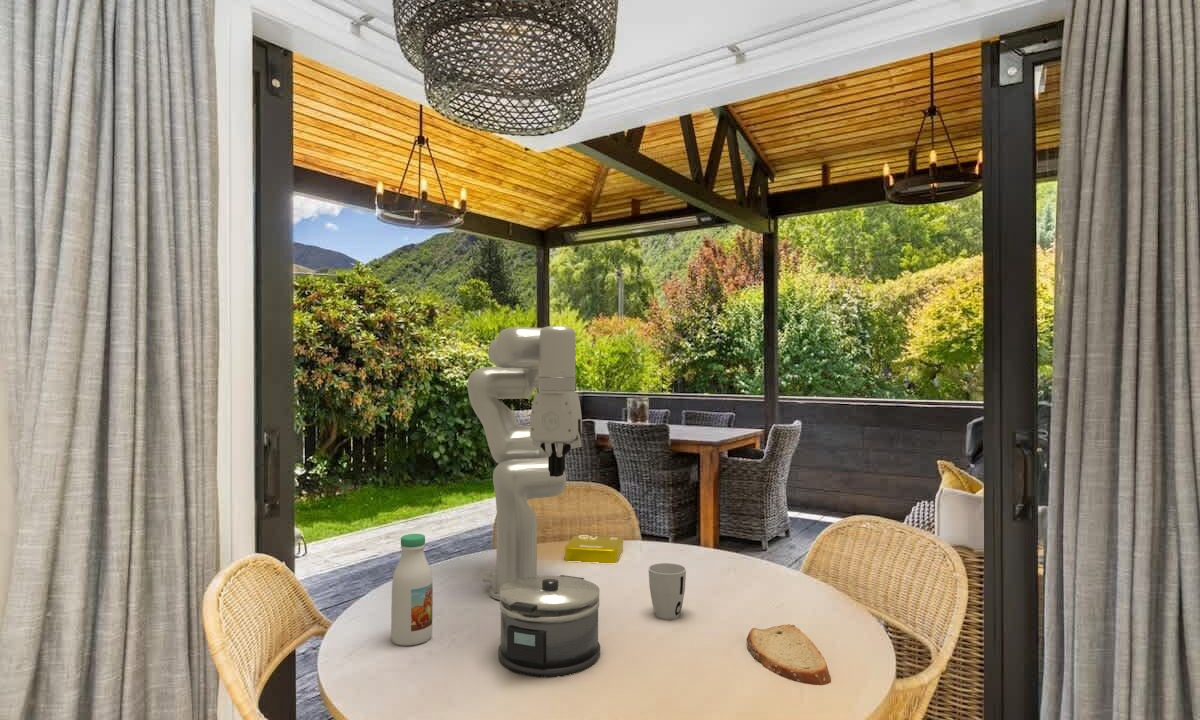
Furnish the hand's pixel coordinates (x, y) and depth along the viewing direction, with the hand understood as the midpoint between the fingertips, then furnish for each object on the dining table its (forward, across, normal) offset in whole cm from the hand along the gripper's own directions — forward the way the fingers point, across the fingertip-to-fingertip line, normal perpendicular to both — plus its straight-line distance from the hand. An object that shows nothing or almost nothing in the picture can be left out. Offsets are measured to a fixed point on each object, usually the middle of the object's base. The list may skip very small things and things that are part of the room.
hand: (556, 475), depth 131 cm
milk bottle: (+31, -24, -15) cm, 42 cm away
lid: (+20, +4, -12) cm, 24 cm away
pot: (+31, +4, -10) cm, 33 cm away
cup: (+31, +19, +16) cm, 40 cm away
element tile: (+32, -13, +53) cm, 63 cm away
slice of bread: (+32, +45, +5) cm, 56 cm away
